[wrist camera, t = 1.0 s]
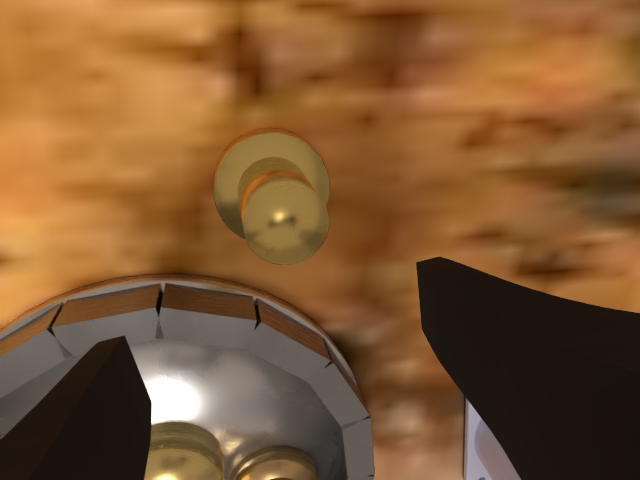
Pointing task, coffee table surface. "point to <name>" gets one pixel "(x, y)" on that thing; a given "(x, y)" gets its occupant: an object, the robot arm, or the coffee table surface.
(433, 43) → the coffee table surface
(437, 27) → the coffee table surface
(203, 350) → the carrier
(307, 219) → the gear
